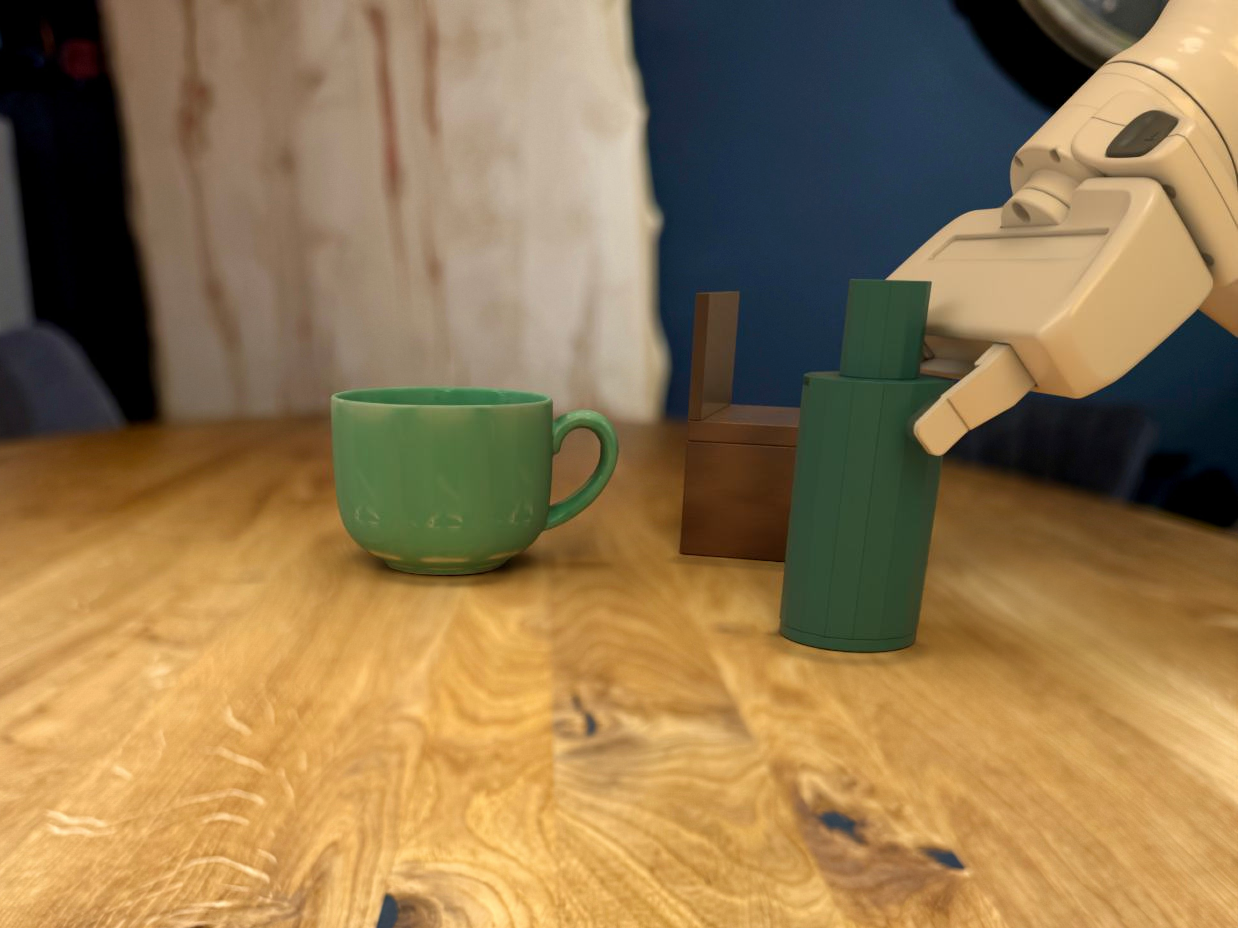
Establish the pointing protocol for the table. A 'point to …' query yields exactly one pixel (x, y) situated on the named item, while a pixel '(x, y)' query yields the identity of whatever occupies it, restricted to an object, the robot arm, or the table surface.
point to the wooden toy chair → (733, 450)
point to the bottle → (863, 481)
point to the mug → (455, 473)
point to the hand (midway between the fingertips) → (873, 430)
